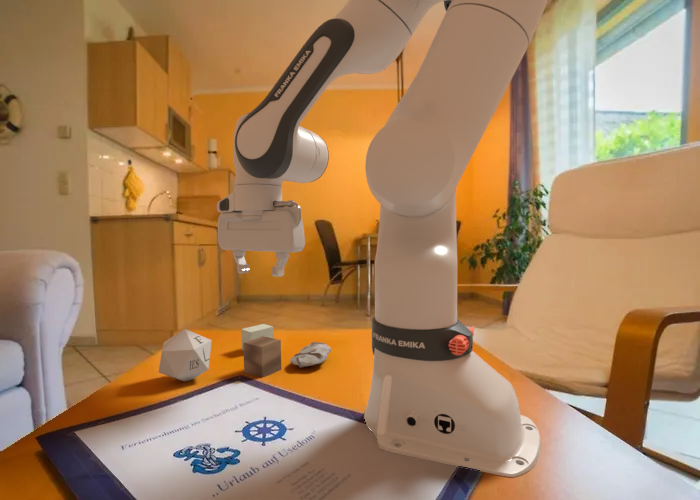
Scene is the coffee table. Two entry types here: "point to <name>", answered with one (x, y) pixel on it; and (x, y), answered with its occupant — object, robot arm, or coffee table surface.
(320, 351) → the stone
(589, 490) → the coffee table surface
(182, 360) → the die
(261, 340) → the walnut block
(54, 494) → the coffee table surface
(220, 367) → the coffee table surface
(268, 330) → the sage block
